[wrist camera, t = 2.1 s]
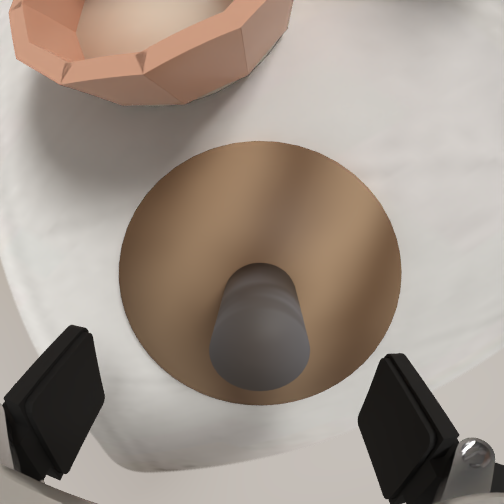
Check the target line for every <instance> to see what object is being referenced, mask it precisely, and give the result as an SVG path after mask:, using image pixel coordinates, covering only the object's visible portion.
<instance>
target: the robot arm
mask: <svg viewBox="0 0 504 504" xmlns="http://www.w3.org/2000/svg"><path fill="white" fill-rule="evenodd" d="M104 399H105V395H104V390H103V386H102V381H101V377H100V372H99V367H98V362H97V357H96V352H95V347H94V341H93V336H92V334H91V333H89V332H88V330H87V329H86V328H84V327H79V326H75V325H70V326H68V327H67V328H66V329H65V331H64V332H63V333H62V334H61V335H60V336H59V337H58V338H57V339H56V340H55V341H54V342H53V343H52V344H51V345H50V346H49V347H48V348H47V349H46V351H45V352H44V353H43V354H42V355H41V356H40V357H39V358H38V359H37V360H36V361H35V363H34V364H33V365H32V366H31V367H30V368H29V369H28V370H27V371H26V373H25V374H24V375H23V376H22V377H21V378H20V379H19V381H18V382H17V383H16V384H15V385H14V386H13V387H12V389H11V390H10V391H9V392H8V393H7V394H6V396H5V397H4V400H5V402H4V403H3V405H1V404H0V504H97V503H94V502H91V501H88V500H85V499H82V498H79V497H77V496H74V495H71V494H68V493H66V492H63V491H61V490H58V489H55V488H53V487H51V486H48V485H46V484H45V482H44V478H45V476H46V475H49V476H51V477H53V478H56V479H58V480H61V478H62V476H63V474H67V473H68V472H69V471H70V469H71V466H72V464H73V462H74V460H75V458H76V456H77V454H78V452H79V450H80V448H81V446H82V444H83V442H84V440H85V438H86V436H87V434H88V432H89V430H90V428H91V426H92V424H93V423H94V421H95V419H96V417H97V415H98V413H99V411H100V409H101V407H102V405H103V403H104ZM358 426H359V428H360V431H361V434H362V436H363V439H364V442H365V445H366V448H367V450H368V453H369V456H370V459H371V461H372V465H373V467H374V470H375V473H376V476H377V479H378V482H379V485H380V488H381V490H382V493H383V496H384V498H385V499H389V502H390V504H402V503H405V502H406V504H504V465H501V464H498V463H495V454H494V451H493V449H492V448H491V447H490V445H489V444H487V443H486V442H485V441H483V440H481V439H478V438H467V439H464V440H462V441H461V442H460V443H459V441H458V439H457V437H458V436H459V433H458V432H457V430H456V429H455V427H454V426H453V424H452V423H451V421H450V420H449V418H448V416H447V415H446V413H445V412H444V410H443V409H442V408H441V406H440V404H439V403H438V402H437V400H436V399H435V397H434V396H433V394H432V393H431V391H430V390H429V388H428V387H427V385H426V384H425V382H424V381H423V380H422V378H421V377H420V375H419V374H418V372H417V371H416V370H415V368H414V367H413V365H412V364H411V363H410V361H409V360H408V358H407V357H406V356H405V355H404V354H402V353H398V354H387V355H386V356H385V357H384V358H382V359H381V360H380V362H379V365H378V367H377V370H376V373H375V375H374V378H373V381H372V383H371V386H370V389H369V391H368V394H367V396H366V399H365V401H364V404H363V406H362V408H361V411H360V413H359V416H358Z"/></svg>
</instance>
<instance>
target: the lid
mask: <svg viewBox="0 0 504 504" xmlns="http://www.w3.org/2000/svg"><path fill="white" fill-rule="evenodd" d="M119 284H120V292H121V298H122V302H123V306H124V309H125V313H126V316H127V318H128V320H129V323H130V325H131V328H132V330H133V331H134V333H135V335H136V337H137V338H138V340H139V342H140V343H141V345H142V346H143V347H144V349H145V350H146V351H147V353H148V354H149V355H150V356H151V357H152V358H153V359H154V360H155V362H156V363H157V364H158V365H159V366H160V367H161V368H163V369H164V370H165V371H166V372H167V373H169V374H170V375H171V376H172V377H174V378H175V379H177V380H178V381H180V382H181V383H183V384H184V385H186V386H188V387H190V388H192V389H194V390H196V391H198V392H200V393H202V394H205V395H207V396H210V397H213V398H216V399H219V400H223V401H227V402H231V403H238V404H245V405H274V404H283V403H288V402H294V401H297V400H301V399H304V398H308V397H311V396H313V395H316V394H318V393H320V392H323V391H325V390H327V389H329V388H331V387H332V386H334V385H336V384H338V383H339V382H341V381H342V380H344V379H345V378H346V377H348V376H349V375H351V374H352V373H353V372H354V371H355V370H357V369H358V368H359V367H360V366H361V365H362V364H363V363H364V362H365V361H366V360H367V359H368V358H369V356H370V355H371V354H372V353H373V352H374V351H375V349H376V348H377V346H378V345H379V343H380V342H381V340H382V339H383V337H384V336H385V334H386V332H387V330H388V328H389V326H390V324H391V322H392V319H393V316H394V313H395V310H396V308H397V303H398V299H399V294H400V287H401V259H400V252H399V247H398V243H397V238H396V235H395V233H394V230H393V227H392V225H391V222H390V220H389V218H388V216H387V214H386V213H385V211H384V209H383V207H382V205H381V204H380V202H379V201H378V200H377V198H376V197H375V196H374V195H373V193H372V192H371V191H370V189H369V188H368V187H367V186H366V185H365V184H364V183H363V182H362V181H361V180H360V179H359V178H357V177H356V176H355V175H354V174H353V173H352V172H350V171H349V170H347V169H346V168H345V167H343V166H342V165H340V164H339V163H338V162H336V161H334V160H332V159H330V158H328V157H326V156H324V155H322V154H320V153H318V152H315V151H312V150H309V149H306V148H303V147H300V146H296V145H291V144H286V143H280V142H267V141H251V142H242V143H233V144H229V145H225V146H221V147H217V148H214V149H211V150H208V151H206V152H203V153H201V154H199V155H196V156H194V157H192V158H190V159H189V160H187V161H185V162H184V163H182V164H180V165H179V166H177V167H175V168H174V169H173V170H171V171H170V172H169V173H168V174H167V175H165V176H164V177H163V178H162V179H161V180H159V181H158V182H157V184H156V185H155V186H154V187H153V188H152V189H151V190H150V191H149V192H148V194H147V195H146V196H145V197H144V199H143V200H142V202H141V203H140V205H139V206H138V208H137V209H136V211H135V213H134V215H133V217H132V219H131V221H130V223H129V225H128V228H127V230H126V234H125V237H124V240H123V244H122V248H121V255H120V261H119Z"/></svg>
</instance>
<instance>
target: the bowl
mask: <svg viewBox="0 0 504 504" xmlns="http://www.w3.org/2000/svg"><path fill="white" fill-rule="evenodd" d="M292 5H293V0H13V2H12V5H11V7H10V10H9V18H10V26H11V32H12V39H13V44H14V50H15V55H16V59H17V60H19V61H21V62H23V63H24V64H26V65H28V66H29V67H31V68H33V69H34V70H36V71H38V72H40V73H41V74H43V75H45V76H46V77H48V78H50V79H51V80H53V81H55V82H56V83H58V84H59V85H62V86H66V87H69V88H72V89H75V90H78V91H81V92H84V93H87V94H90V95H93V96H96V97H99V98H102V99H105V100H108V101H111V102H114V103H116V104H119V105H122V106H132V105H140V106H168V105H185V104H187V103H189V102H191V101H193V100H197V99H200V98H203V97H206V96H208V95H210V94H213V93H215V92H218V91H220V90H222V89H224V88H225V87H227V86H229V85H231V84H233V83H234V82H236V81H237V80H239V79H240V78H243V77H245V76H248V75H249V73H250V72H251V71H252V70H253V69H254V68H255V67H256V66H257V65H258V64H259V63H260V62H261V61H262V60H263V59H264V58H265V57H266V56H267V55H268V54H269V52H270V51H271V49H272V48H273V47H274V45H275V44H276V43H277V41H278V39H279V38H280V37H281V36H282V34H283V33H284V32H285V31H286V30H287V29H288V24H289V19H290V14H291V9H292Z"/></svg>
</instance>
